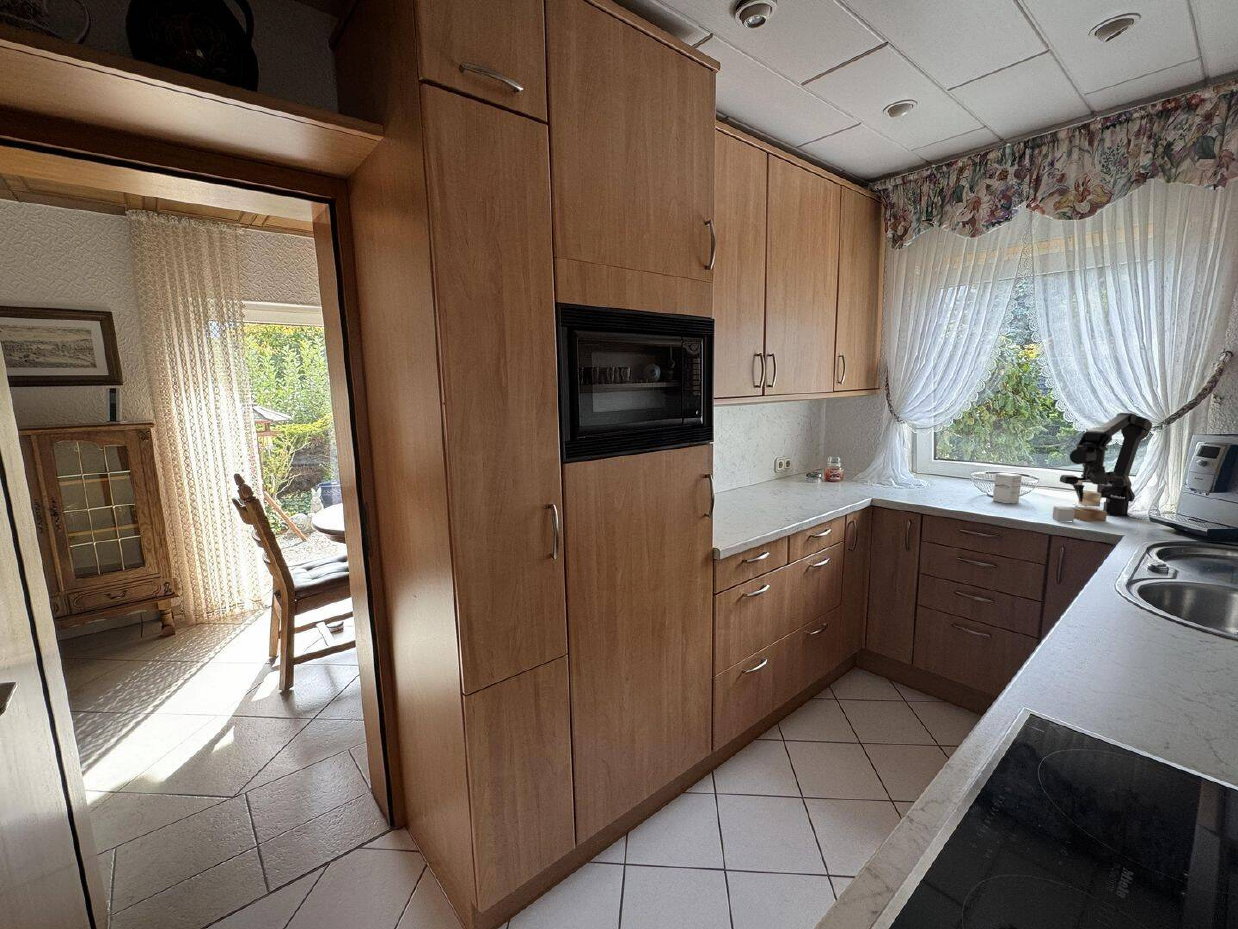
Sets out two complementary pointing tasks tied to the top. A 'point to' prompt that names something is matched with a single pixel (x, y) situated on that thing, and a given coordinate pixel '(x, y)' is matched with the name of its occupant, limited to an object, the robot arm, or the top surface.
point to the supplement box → (1007, 488)
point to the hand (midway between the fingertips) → (1089, 502)
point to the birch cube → (1091, 498)
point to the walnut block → (1089, 514)
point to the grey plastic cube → (1063, 513)
